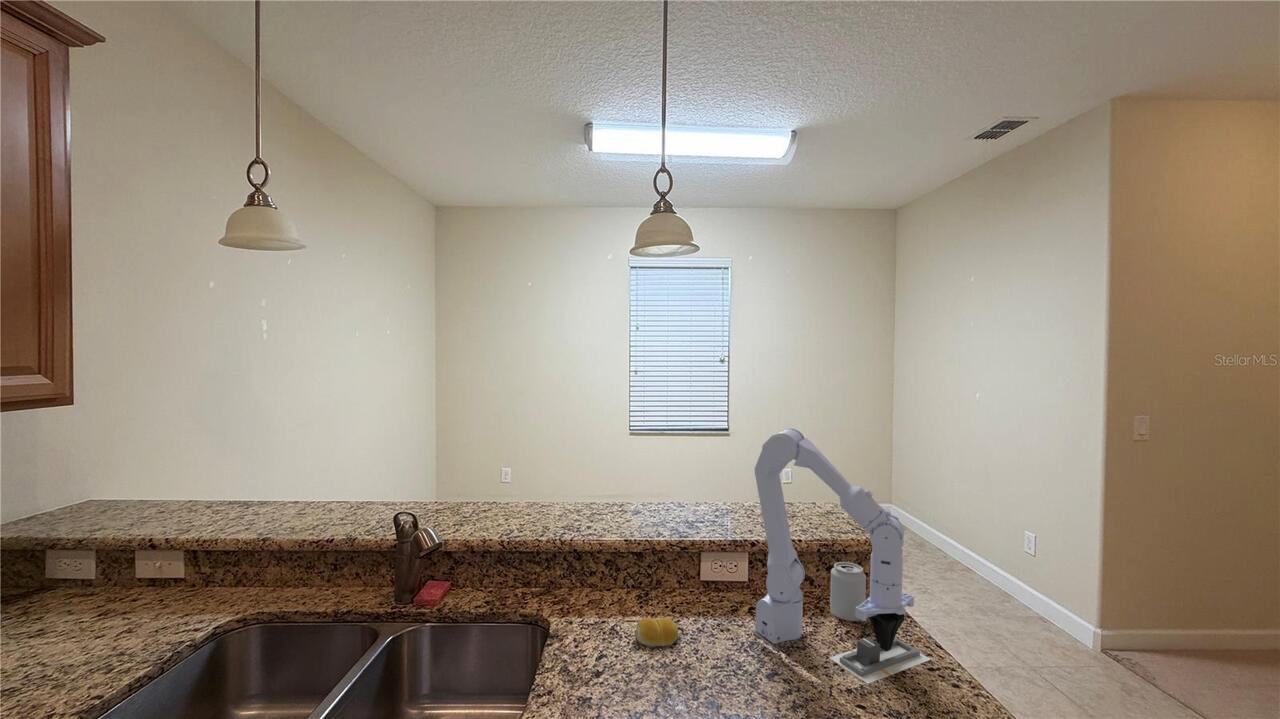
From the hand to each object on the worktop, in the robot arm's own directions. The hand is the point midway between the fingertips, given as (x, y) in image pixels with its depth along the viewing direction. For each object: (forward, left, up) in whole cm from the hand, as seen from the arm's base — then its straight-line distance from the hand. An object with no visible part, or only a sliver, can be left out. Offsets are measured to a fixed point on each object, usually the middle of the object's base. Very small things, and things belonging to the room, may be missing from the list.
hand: (884, 648), depth 105 cm
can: (+8, +16, -3) cm, 18 cm away
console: (-1, 0, -3) cm, 3 cm away
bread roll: (-36, +27, -3) cm, 45 cm away
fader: (-4, 0, -2) cm, 5 cm away
